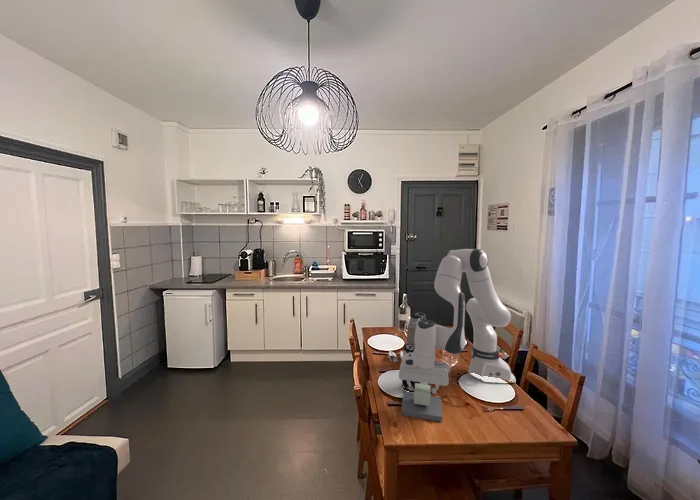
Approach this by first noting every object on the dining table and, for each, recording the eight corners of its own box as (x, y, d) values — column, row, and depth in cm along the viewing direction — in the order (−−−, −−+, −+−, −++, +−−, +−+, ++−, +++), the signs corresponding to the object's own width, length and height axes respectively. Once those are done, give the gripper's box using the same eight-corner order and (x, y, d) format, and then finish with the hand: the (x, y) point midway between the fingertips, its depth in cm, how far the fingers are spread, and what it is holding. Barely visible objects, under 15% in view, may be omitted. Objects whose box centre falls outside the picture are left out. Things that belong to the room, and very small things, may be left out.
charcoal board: (440, 402, 137) (440, 397, 137) (442, 421, 124) (442, 417, 124) (403, 396, 141) (403, 392, 141) (401, 414, 127) (401, 410, 127)
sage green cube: (429, 397, 134) (430, 385, 134) (429, 406, 128) (430, 393, 128) (414, 395, 136) (415, 383, 135) (413, 403, 130) (414, 390, 129)
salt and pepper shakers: (410, 364, 174) (408, 355, 185) (410, 356, 174) (409, 348, 185) (388, 362, 175) (388, 354, 186) (388, 354, 175) (388, 347, 186)
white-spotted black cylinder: (399, 389, 146) (401, 348, 144) (404, 382, 154) (406, 342, 152) (416, 395, 142) (419, 352, 141) (421, 386, 150) (424, 346, 148)
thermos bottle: (418, 362, 176) (421, 313, 173) (421, 369, 168) (424, 318, 165) (404, 361, 176) (407, 313, 173) (406, 368, 168) (409, 317, 165)
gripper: (449, 359, 131) (447, 391, 132) (400, 353, 136) (398, 384, 137) (451, 366, 125) (448, 399, 126) (399, 359, 130) (397, 391, 131)
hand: (422, 391), depth 132 cm, fingers open, 8 cm apart
